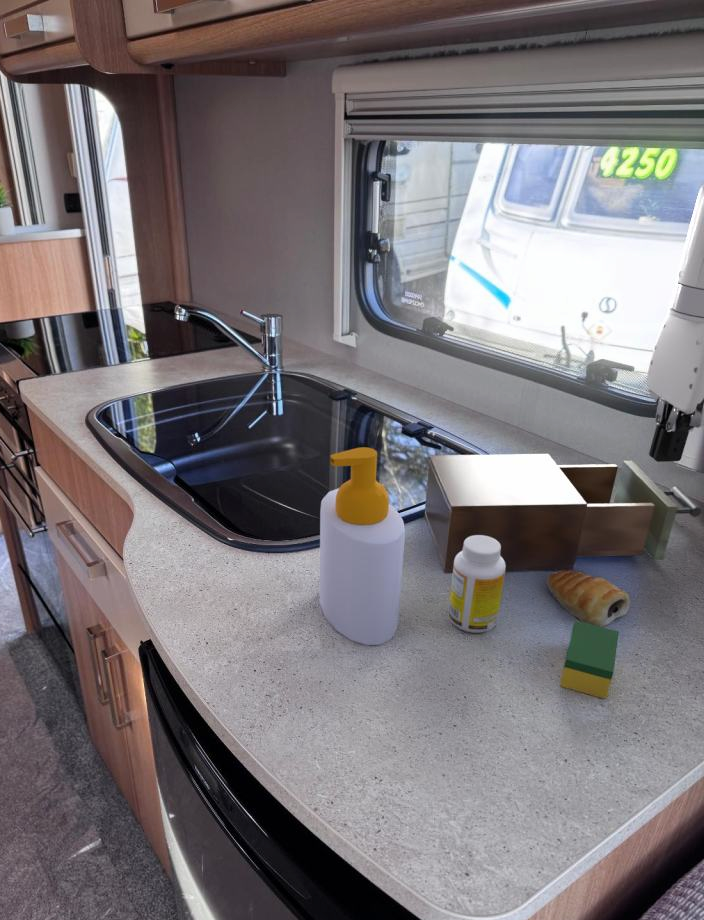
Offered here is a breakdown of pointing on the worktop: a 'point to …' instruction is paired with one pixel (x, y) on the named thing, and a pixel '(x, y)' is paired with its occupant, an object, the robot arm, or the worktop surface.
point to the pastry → (588, 597)
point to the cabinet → (505, 509)
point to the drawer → (625, 510)
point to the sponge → (590, 659)
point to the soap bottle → (361, 553)
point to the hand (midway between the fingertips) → (664, 458)
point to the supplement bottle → (477, 585)
